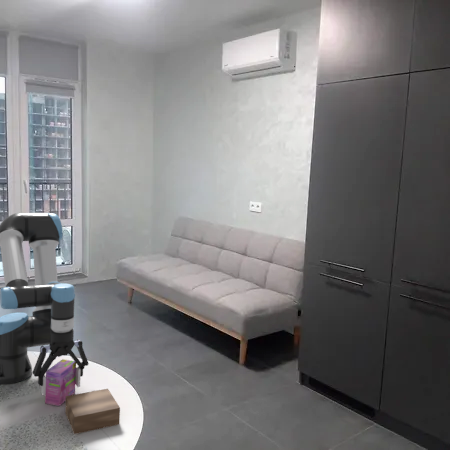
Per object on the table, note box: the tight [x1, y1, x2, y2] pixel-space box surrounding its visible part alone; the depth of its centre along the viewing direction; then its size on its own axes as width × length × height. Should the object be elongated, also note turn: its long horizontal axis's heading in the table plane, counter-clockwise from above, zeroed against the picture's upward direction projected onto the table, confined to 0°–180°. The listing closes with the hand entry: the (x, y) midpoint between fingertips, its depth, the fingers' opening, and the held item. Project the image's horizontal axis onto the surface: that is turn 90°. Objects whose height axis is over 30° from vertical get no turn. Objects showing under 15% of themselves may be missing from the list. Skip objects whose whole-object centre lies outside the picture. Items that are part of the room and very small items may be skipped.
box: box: [44, 358, 77, 407], centre depth 159 cm, size 10×6×12 cm, turn 168°
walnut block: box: [64, 388, 121, 435], centre depth 148 cm, size 14×14×6 cm
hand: (60, 389), depth 159 cm, fingers closed on box, 11 cm apart
